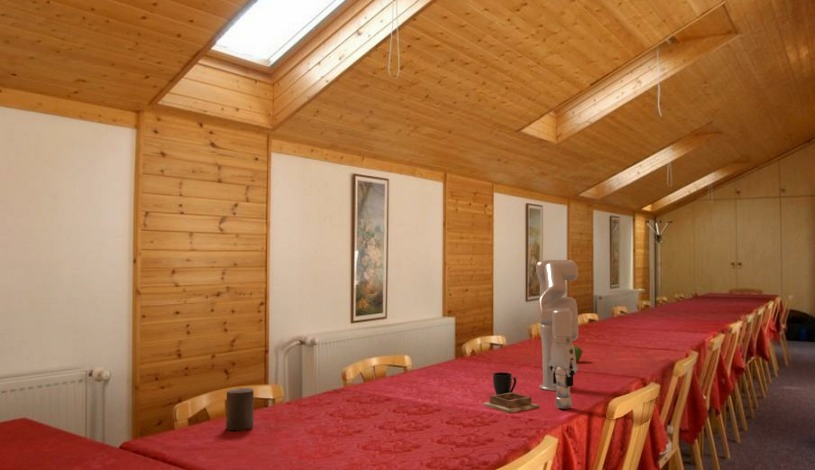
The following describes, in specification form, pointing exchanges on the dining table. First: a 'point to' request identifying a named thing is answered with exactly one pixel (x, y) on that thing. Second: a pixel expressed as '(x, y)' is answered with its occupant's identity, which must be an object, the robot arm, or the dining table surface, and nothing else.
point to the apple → (577, 353)
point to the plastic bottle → (562, 389)
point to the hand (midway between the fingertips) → (563, 384)
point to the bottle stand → (510, 402)
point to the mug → (503, 382)
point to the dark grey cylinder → (239, 409)
